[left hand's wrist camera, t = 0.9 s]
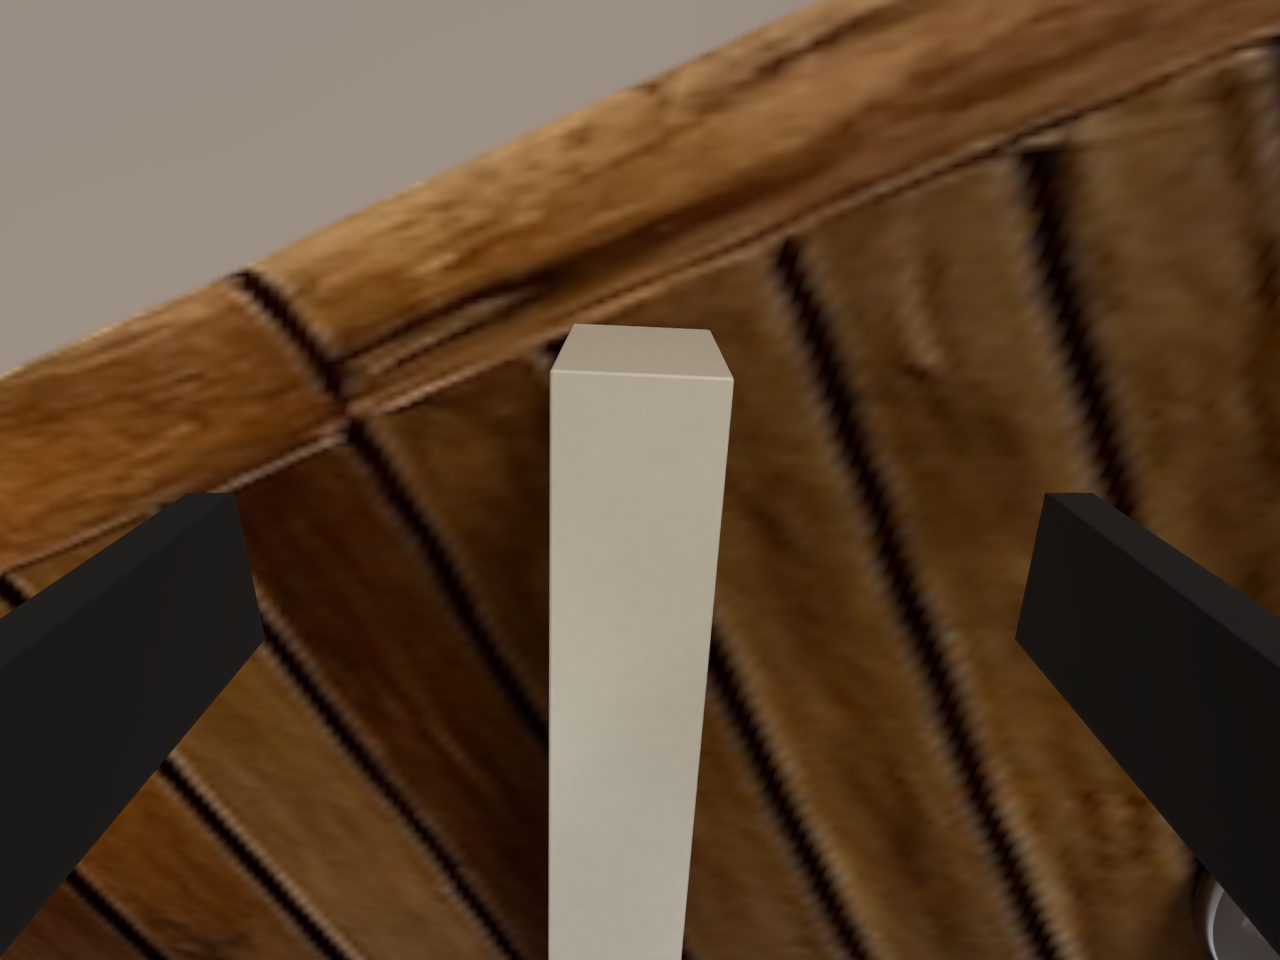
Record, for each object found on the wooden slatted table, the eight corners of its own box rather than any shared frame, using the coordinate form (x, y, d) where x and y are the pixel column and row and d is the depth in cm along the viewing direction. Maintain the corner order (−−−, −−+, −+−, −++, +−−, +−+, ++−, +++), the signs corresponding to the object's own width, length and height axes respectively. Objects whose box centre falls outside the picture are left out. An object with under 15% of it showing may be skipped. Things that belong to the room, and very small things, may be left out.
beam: (573, 323, 27) (549, 369, 20) (710, 329, 28) (734, 377, 20) (564, 977, 40) (547, 1149, 33) (659, 980, 40) (663, 1152, 33)
